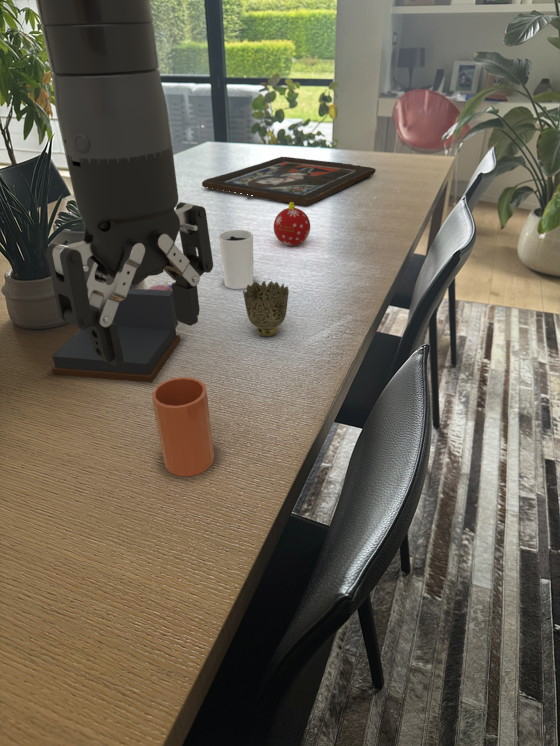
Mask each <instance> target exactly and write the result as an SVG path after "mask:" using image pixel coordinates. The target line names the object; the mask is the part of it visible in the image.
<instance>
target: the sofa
mask: <svg viewBox="0 0 560 746" xmlns="http://www.w3.org/2000/svg"><path fill="white" fill-rule="evenodd" d="M87 292H88V287H87ZM102 301H103V300H102ZM101 304H102V303H101ZM113 323H116V324H117V329H118V334H119V339H120V344H121V349H122V353H123V358H124V362H123V363H121V364H119V365H117V366H113V365H111V364H109V363H107V362H105V361H104V360H102V359H100V358H98V357H97V356H96V355H95V353H94V349H93V345H92V341H91V337H90V333H89V328H87V329H81V328H79V330H77V332H75V333H74V334H73V335H72V336H71V338H69V339H68V340H67V341H66V342H65V343H64V344H63V345H62V346H61V347H60V348H59V349H58V350H57V351H55V353H54V354H52V359H53V360H52V361H53V364H54V366H53V367H52V368H51V372H52V374H53V375H60V376H72V377H84V378H95V379H107V380H120V381H131V382H143V383H153V381H154V380H155V378H156V377H157V375H158V374H159V373H160V371H161V369H162V368H163V366H164V365H165V363H166V362H167V361H168V359H169V358H170V356H171V355H172V353H173V352H174V350H175V349H176V347H177V346H178V345H179V343H180V341H181V335H180V334H177V327H178V325H179V321H178V320H177V318H176V313H175V306H174V299H173V292H172V291H167V290H149V288H131V287H130V288H129V291H128V294H127V297H126V298H125V299H124V300H123V301H121V302H120V303H119V306H118V308H117V311H116V314H115V317H114V319H113Z"/></svg>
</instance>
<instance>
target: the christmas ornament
mask: <svg viewBox="0 0 560 746" xmlns="http://www.w3.org/2000/svg"><path fill="white" fill-rule="evenodd" d="M295 205H296V204H294V203H293V202H290V203H288V207H287V208H284V209H282V210H281V211H280V212H279V213H277V215H276V216H275V219H274V221H273V233H274V235H275V237H276V238H277V240H278V241H279V242H280V243H281V244H283V245H285V246H290V247H294V246H298V245H300V244H302V243H304V242H305V241H306V240H307V239H308V237H309V235H310V232H311V221H310V218H309V216H308V214H306V213H305V212H304V211H303V210H302V209H300V208H298V207H296V206H295Z"/></svg>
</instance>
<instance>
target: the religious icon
mask: <svg viewBox="0 0 560 746" xmlns="http://www.w3.org/2000/svg"><path fill="white" fill-rule="evenodd" d="M376 171H377V170H376V168H374V167H371V166H365V165H363V166H362V165H359V164H357V165H356V164H352V163H342V162H336V161H326V160H316V159H308V158H299V157H291V156H279V157H276V158H272V159H269V160H267V161H264V162H261V163H258V164H253V165H251V166H248V167H244V168H240V169H238V170H234V171H231V172H227V173H224V174H221V175H218V176H214V177H210V178H206V179H204V180H203V181H202V182H201V186H202V187H203V188H205V189H207V190H214V191H219V192H225V193H230V194H235V195H242V196H247V199H248V200H251V199H254V198H257V199H258V198H259V199H265V200H270V201H271V200H272V201H277V202H282V203H286V204H287V203H288V204H289V203H290V202H293V203H294V205H297V206H309V205H311V204H314V203H316V202H318V201H320V200H323V199H324V198H327V197H329V196H331V195H333V194H336V193H338V192H339V191H342V190H343V189H346V188H348V187H350V186H351V185H353V184H355V183H357V182H360V181H361V180H362V181H363V180H364V179H367V178H370V177H371V176H374V174H375V173H376ZM206 187H208V188H206ZM212 188H213V189H212ZM217 189H218V190H217ZM223 190H224V191H223ZM229 191H230V192H229ZM234 192H236V193H234ZM240 193H242V194H240ZM247 194H248V195H247ZM251 195H253V196H251Z"/></svg>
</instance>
